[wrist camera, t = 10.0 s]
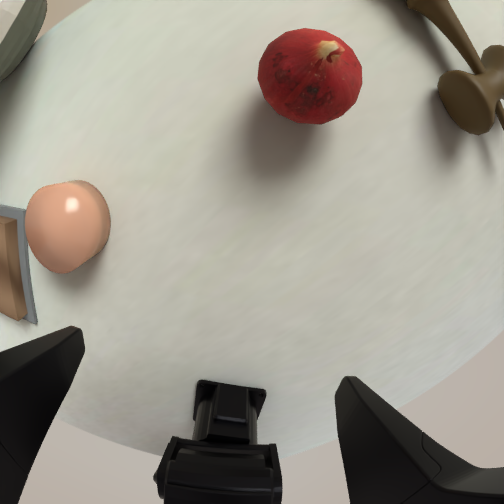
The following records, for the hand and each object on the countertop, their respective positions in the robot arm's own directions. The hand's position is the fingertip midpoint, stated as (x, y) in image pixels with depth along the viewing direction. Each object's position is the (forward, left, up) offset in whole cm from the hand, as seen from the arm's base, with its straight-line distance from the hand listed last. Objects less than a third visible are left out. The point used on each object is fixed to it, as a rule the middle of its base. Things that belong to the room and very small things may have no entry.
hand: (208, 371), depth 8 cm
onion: (+12, -2, -13) cm, 18 cm away
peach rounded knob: (0, +13, -12) cm, 18 cm away
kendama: (+21, -15, -13) cm, 29 cm away
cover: (-6, +24, -12) cm, 27 cm away
